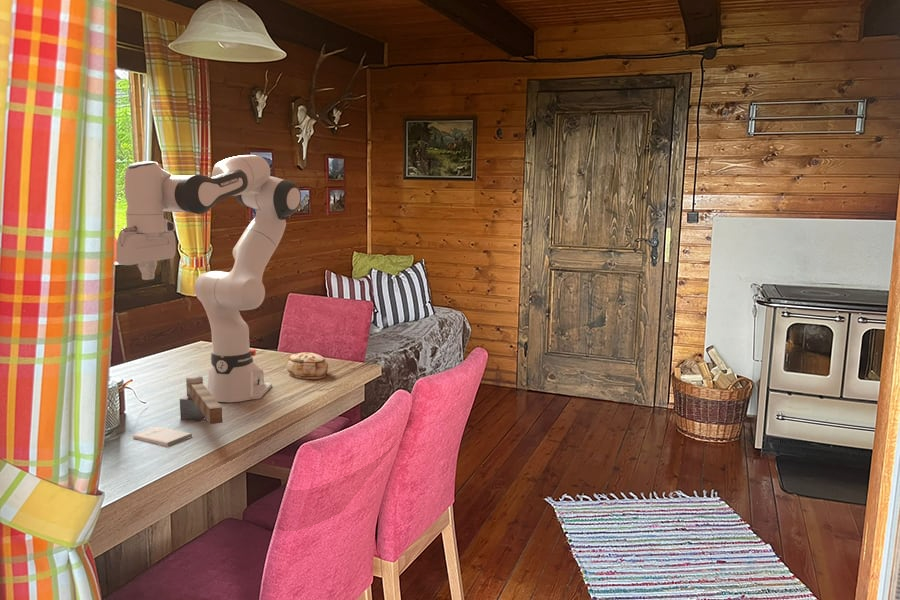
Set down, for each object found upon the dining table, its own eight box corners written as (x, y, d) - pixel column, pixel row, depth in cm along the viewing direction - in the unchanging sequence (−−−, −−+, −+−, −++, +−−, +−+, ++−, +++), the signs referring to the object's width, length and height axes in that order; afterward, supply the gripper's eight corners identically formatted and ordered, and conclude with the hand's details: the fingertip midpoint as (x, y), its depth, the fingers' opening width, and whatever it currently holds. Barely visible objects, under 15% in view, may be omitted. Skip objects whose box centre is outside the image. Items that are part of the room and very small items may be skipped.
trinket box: (325, 380, 245) (324, 358, 244) (281, 379, 246) (280, 357, 244) (332, 370, 259) (332, 349, 257) (290, 369, 259) (290, 348, 258)
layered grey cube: (192, 413, 209) (191, 393, 208) (211, 414, 207) (210, 394, 206) (180, 419, 203) (179, 399, 202) (200, 421, 202) (199, 400, 201)
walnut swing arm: (185, 394, 205) (184, 377, 204) (201, 392, 207) (200, 375, 206) (207, 424, 179) (206, 405, 179) (225, 422, 182) (224, 403, 181)
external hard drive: (167, 448, 182) (133, 440, 188) (192, 439, 190) (158, 431, 195) (167, 442, 182) (132, 434, 187) (192, 433, 189) (158, 425, 195)
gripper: (130, 228, 174) (133, 284, 176) (179, 224, 194) (181, 275, 196) (107, 227, 175) (111, 283, 177) (158, 223, 195) (160, 274, 197)
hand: (148, 279), depth 187 cm, fingers closed
